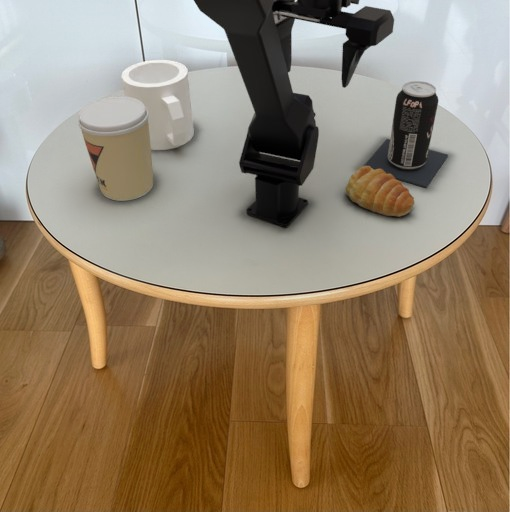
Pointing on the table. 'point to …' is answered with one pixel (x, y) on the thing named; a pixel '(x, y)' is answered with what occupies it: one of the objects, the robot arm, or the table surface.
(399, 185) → the pastry
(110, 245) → the table surface
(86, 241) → the table surface
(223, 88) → the table surface
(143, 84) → the mug
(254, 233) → the table surface
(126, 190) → the coffee cup
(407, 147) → the beverage can
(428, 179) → the coaster
